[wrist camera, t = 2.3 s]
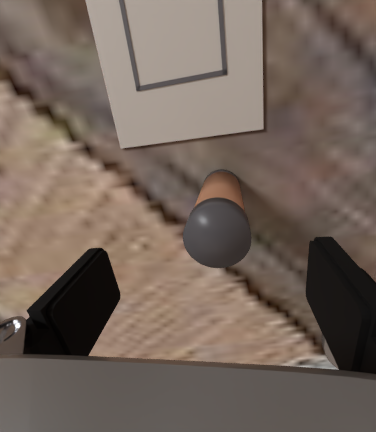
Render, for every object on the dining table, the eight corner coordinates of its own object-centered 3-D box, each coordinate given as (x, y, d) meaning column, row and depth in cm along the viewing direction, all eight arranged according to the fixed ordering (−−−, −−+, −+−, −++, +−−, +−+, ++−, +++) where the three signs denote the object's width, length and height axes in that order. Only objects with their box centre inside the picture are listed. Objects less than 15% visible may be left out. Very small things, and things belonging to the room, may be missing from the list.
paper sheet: (259, -174, 15) (260, -181, 15) (263, 129, 22) (263, 129, 22) (64, -97, 18) (61, -101, 18) (121, 148, 25) (120, 148, 25)
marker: (239, 166, 24) (250, 205, 13) (241, 204, 25) (252, 267, 14) (200, 170, 24) (178, 210, 14) (204, 206, 26) (187, 268, 15)
